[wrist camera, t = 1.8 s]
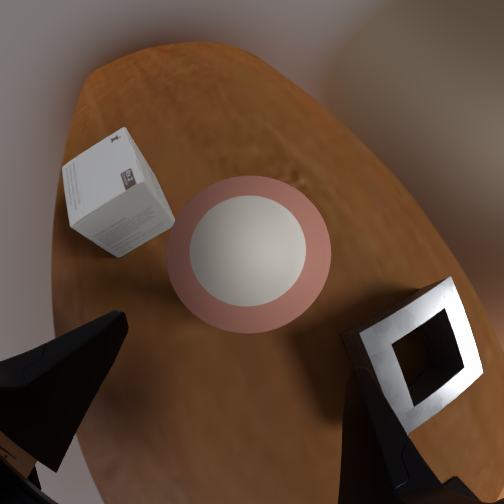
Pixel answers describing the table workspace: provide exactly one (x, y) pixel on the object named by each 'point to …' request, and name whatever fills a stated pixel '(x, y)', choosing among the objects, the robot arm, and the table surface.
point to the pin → (248, 254)
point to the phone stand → (460, 488)
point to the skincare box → (115, 195)
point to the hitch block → (438, 345)
